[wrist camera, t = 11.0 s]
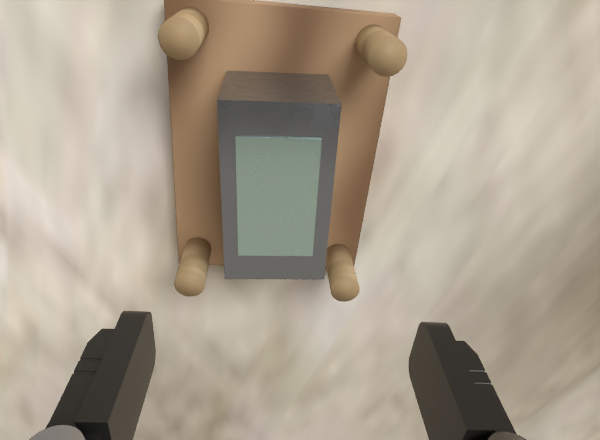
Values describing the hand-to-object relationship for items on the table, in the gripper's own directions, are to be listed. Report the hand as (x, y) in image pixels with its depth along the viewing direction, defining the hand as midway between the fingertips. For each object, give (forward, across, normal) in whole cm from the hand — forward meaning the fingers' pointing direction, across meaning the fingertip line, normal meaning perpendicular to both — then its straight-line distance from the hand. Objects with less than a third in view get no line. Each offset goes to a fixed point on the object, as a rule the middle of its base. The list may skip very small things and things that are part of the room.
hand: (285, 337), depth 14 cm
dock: (+15, 0, 0) cm, 15 cm away
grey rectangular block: (+13, 0, 0) cm, 13 cm away
